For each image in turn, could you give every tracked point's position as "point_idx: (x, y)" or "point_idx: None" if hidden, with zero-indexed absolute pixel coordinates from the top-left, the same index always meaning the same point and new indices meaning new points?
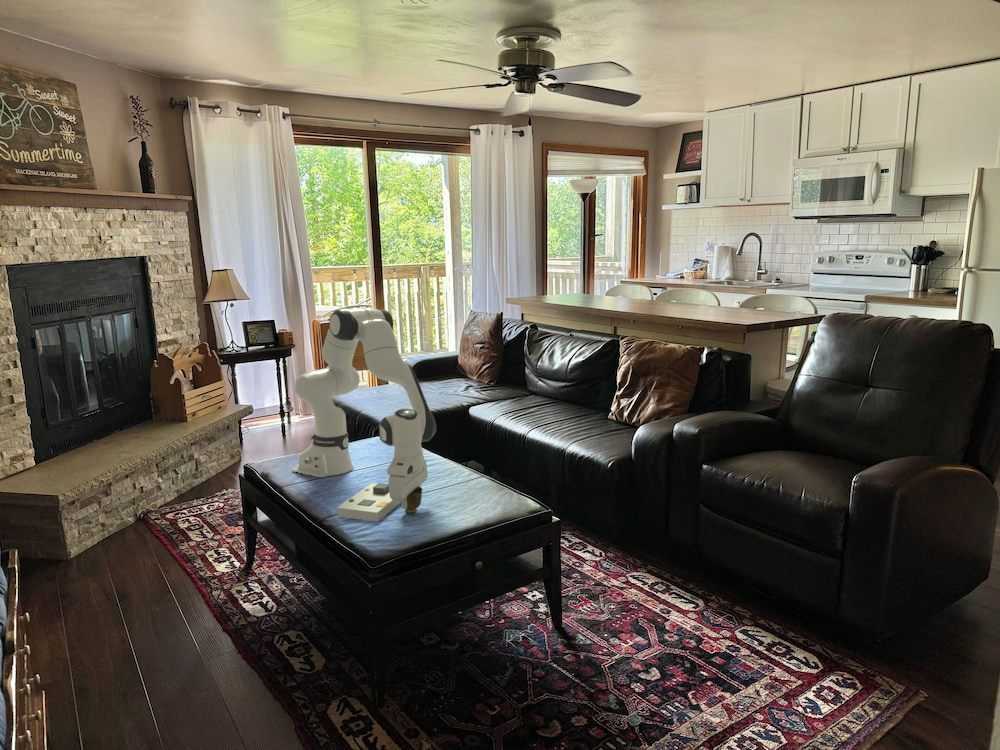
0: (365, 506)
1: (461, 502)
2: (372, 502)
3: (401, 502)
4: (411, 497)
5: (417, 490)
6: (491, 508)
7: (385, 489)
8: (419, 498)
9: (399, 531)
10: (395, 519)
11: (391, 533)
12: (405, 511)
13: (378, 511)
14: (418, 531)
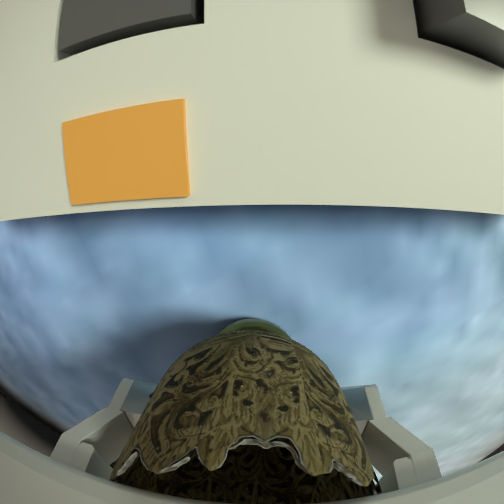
0: (45, 35)
1: None
2: (131, 21)
3: (98, 418)
4: (161, 486)
5: (345, 480)
6: None
7: (483, 33)
8: (234, 485)
9: (44, 353)
10: (119, 291)
11: (16, 328)
12: (217, 334)
13: (10, 219)
14: (91, 412)
